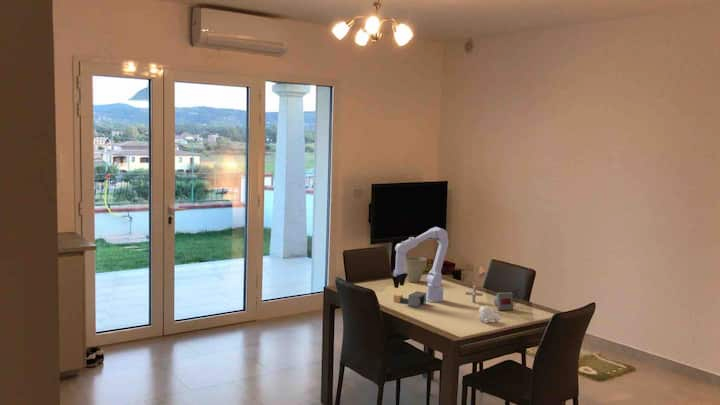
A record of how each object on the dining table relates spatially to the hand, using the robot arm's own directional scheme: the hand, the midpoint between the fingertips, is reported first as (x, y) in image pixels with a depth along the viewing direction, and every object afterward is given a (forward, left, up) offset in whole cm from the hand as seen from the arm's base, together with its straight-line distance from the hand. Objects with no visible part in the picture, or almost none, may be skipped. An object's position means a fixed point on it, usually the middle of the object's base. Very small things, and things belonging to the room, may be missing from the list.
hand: (399, 286), depth 357 cm
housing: (-6, +10, -9) cm, 15 cm away
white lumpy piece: (-22, +53, -9) cm, 58 cm away
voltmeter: (-56, +34, -9) cm, 66 cm away
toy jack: (-43, +17, -9) cm, 48 cm away
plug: (-3, +5, -9) cm, 11 cm away
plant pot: (-41, -41, -9) cm, 59 cm away
